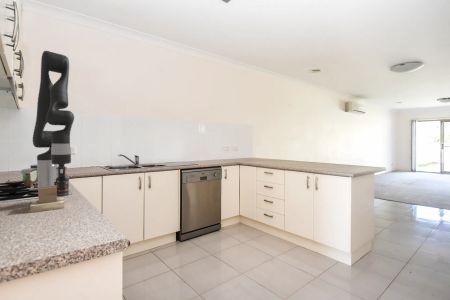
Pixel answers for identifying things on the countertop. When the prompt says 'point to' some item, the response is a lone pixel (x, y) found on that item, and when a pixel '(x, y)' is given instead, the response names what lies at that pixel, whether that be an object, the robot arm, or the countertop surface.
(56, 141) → the robot arm
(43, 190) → the walnut cube
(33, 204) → the tan flat square piece
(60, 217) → the countertop surface
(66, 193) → the pill bottle
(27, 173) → the food container
